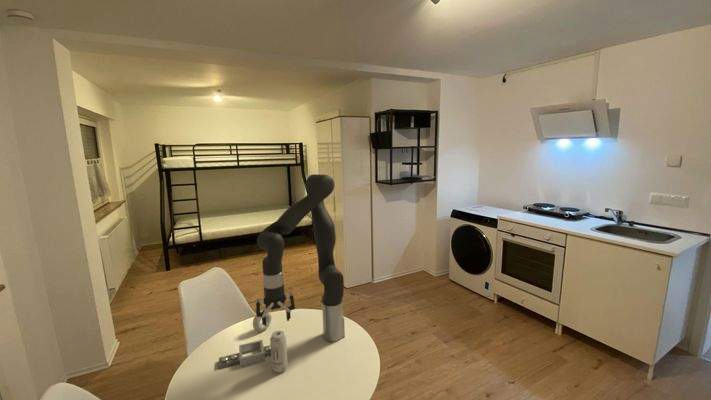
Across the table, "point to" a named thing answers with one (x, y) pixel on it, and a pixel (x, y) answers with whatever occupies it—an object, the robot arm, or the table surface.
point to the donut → (259, 326)
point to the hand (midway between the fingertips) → (276, 322)
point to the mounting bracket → (246, 360)
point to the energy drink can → (278, 351)
